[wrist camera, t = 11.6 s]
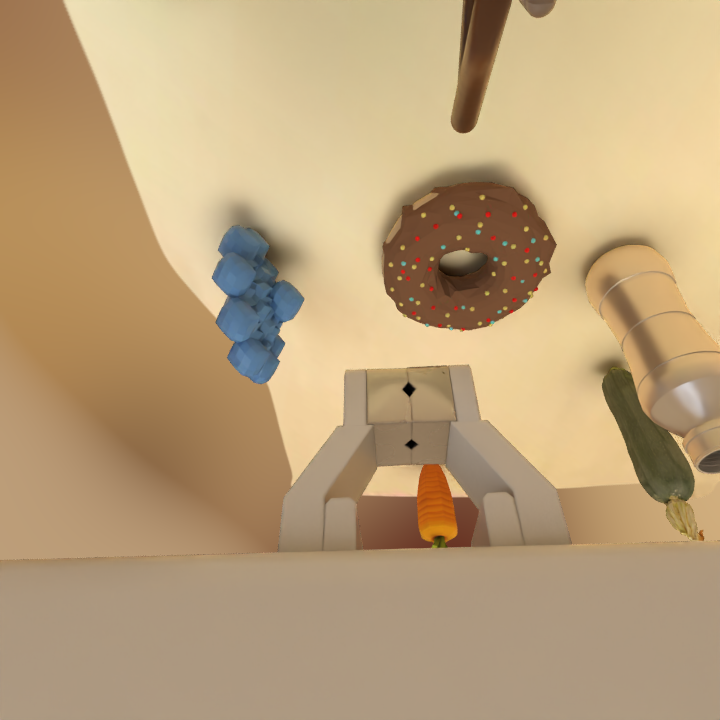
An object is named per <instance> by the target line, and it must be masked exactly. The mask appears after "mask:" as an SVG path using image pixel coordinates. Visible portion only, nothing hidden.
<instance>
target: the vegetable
mask: <svg viewBox="0 0 720 720" xmlns="http://www.w3.org/2000/svg"><path fill="white" fill-rule="evenodd" d="M602 389H603V393H604V396H605V399H606V402H607V404H608V406H609V408H610V410H611V412H612V414H613V415H614V417H615V419H616V421H617V424H618V426H619V428H620V431H621V433H622V435H623V438H624V440H625V443H626V446H627V450H628V453H629V455H630V458H631V460H632V463H633V466H634V469H635V472H636V475H637V477H638V479H639V482H640V483H641V485H642V486H643V488H644V489H645V490H646V491H647V493H648V494H649V495H650V496H651V497H652V498H654V499H655V500H656V501H658V502H661V503H664V504H666V506H667V509H666V516H667V519H668V520H669V522H670V523H671V525H672V526H673V527H674V528H675V529H676V530H678V531H680V533H681V534H682V535H685V536H687V537H688V538H689V539H690V540H691V541H704V536H703V533H702V532H703V530H701V531H700V532H699V533H698V532H697V524H696V522H695V518H694V512H693V509H692V508H691V506H690V505H689V504H688V503H686V502H685V501H687V500H688V499H689V498H690V497H691V496H692V494H693V491H694V483H695V480H694V476H693V473H692V470H691V467H690V465H689V463H688V461H687V459H686V458H685V456H684V454H683V453H682V451H681V449H680V448H679V446H678V444H677V443H676V441H675V440H674V438H673V437H672V436H671V434H670V433H669V432H668V431H667V430H666V429H664V428H662V427H661V426H659V425H657V424H656V423H654V422H653V421H652V420H651V419H650V418H649V417H648V416H647V415H646V414H645V413H644V411H643V409H642V407H641V404H640V402H639V399H638V395H637V391H636V388H635V384H634V380H633V377H632V374H631V373H630V372H628V371H626V370H625V369H624V368H618V367H612V368H611V369H610V371H609V373H608V374H607V375H606V376H605V377H604V379H603V383H602ZM698 534H699V535H700V536H699V535H698Z"/></svg>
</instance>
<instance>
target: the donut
mask: <svg viewBox="0 0 720 720" xmlns="http://www.w3.org/2000/svg"><path fill="white" fill-rule="evenodd" d="M556 245H557V244H556V243H555V241H554V239H553V237H552V235H551V233H550V231H549V229H548V227H547V226H546V224H545V222H544V221H543V220H542V219H541V218H540V217H539V216H538V214H537V211H536V209H535V206H534V205H533V204H532V203H531V202H530V200H529V199H528V198H526V197H524V196H522V195H520V194H518V193H517V192H516V191H515V189H514V188H512V187H507V186H503V185H499V184H495V183H491V182H469V183H461V184H455V185H452V186H448V187H435V188H434V189H433V190H432V191H431V193H430V194H428V195H426V196H424V197H422V198H421V199H419V200H417V201H416V202H415V203H413V204H412V205H408V206H403V209H402V215H400V217H399V219H398V220H397V222H396V223H395V225H394V226H393V228H392V230H391V231H390V233H389V235H388V238H387V239H386V240H385V242H384V243H383V254H382V274H383V277H384V284H385V289H386V293H387V295H389V296H390V297H391V298H392V299H393V300H394V302H395V303H396V307H397V309H398V310H399V311H400V312H401V313H402V314H403V316H404V317H408V318H410V319H413V320H415V321H417V322H420V323H422V324H425V326H426V327H428V326H434V327H438V328H449V329H450V330H453V329H460V331H464V330H472V329H477V328H482V327H487V326H492V324H494V322H496V321H498V320H499V319H503V318H504V317H505V316H507V315H509V314H510V313H513V312H514V311H516V310H518V309H519V308H521V307H522V306H523V305H524V304H525V303H526V302H527V301H528V300H529V298H532V297H533V292H534V291H537V290H538V288H537V286H538V284H539V283H540V281H541V280H542V278H544V277H545V276H547V275H548V274H550V273H551V271H550V266H549V262H550V260H551V257H552V255H553V252H554V250H555V248H556ZM457 250H465V251H468V252H470V253H483V254H485V255H487V256H488V259H487V262H486V263H485V264H484V265H483V266H482V267H481V268H480V269H479V270H478V271H476V272H474V273H471V274H468V275H465V276H462V277H459V276H447V275H445V274H444V273H442V272H440V271H439V270H438V267H439V263H440V259H441V258H442V257H443V255H444V254H447V253H450V252H453V251H457Z"/></svg>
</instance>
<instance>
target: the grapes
mask: <svg viewBox="0 0 720 720" xmlns="http://www.w3.org/2000/svg"><path fill="white" fill-rule="evenodd" d="M269 247H270V246H269V245H268V243H267V242H266V241H265V240H264V239H263V238H262V237H261V235H260V234H259V233H257V232H256V231H254V230H252V229H251V228H246V229H245V228H244V227H242V226H240V225H236V226H232V227H231V228H230V229H229V230H228V231H227V232H226V233H225V235H224V237H223V239H222V241H221V243H220V246H219V248H218V251H219V252H220V253H221V255H222V256H223V258H222V259H221V260H220V261H219V262H218V264H217V266H216V269H215V271H214V273H213V276H212V279H213V280H214V282H215V283H216V284H217V285H218V286H219V287H220V288H221V289H222V290H223V292H224V293H225V294H226V295H228V297H227V299H226V301H225V304H224V306H223V307H222V309H221V311H220V313H219V315H218V318H217V320H216V324H217V325H218V327H219V328H220V329H221V330H222V332H224V334H225V335H226V336H227V337H228V338H229V339H230V340H231V341H234V342H235V343H234V344H233V346H232V348H231V350H230V352H229V354H228V357H227V358H228V360H229V361H230V363H231V364H232V365H233V366H234V368H235V369H236V370H237V371H239V373H240V374H241V375H243V376H246V377H249V378H250V379H251V380H252V381H253V382H254V383H258V384H263V383H265V382H267V381H269V380H270V378H271V377H272V375H273V374H274V372H275V371H276V369H277V367H278V365H279V362H280V361H279V360H278V359H277V358H278V356H279V355H280V353H281V351H282V349H283V347H284V345H285V343H284V341H283V340H282V339H281V337H280V336H279V335H278V334H279V332H280V327H281V325H282V323H283V322H286V321H289V320H291V319H293V318H294V317H295V315H296V314H297V313H298V311H299V309H300V307H301V305H302V303H303V301H304V298H303V296H302V295H301V294H300V292H299V291H298V290H297V289H296V288H295V287H294V286H293V285H292V284H290V283H289V282H287V281H285V280H282V281H279V282H277V283H276V281H275V279H276V277H277V275H278V273H279V272H278V270H277V269H276V268H275V266H274V265H273V264H272V263H271V262H270V261H269V260H268V259H267V258H265V255H266V253H267V251H268V249H269Z"/></svg>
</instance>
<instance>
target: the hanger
mask: <svg viewBox="0 0 720 720" xmlns="http://www.w3.org/2000/svg"><path fill="white" fill-rule="evenodd" d="M519 1H520V3H521V4H522V5H523V6H524V8H525V9H526V10H527V11H528V13H529V14H530V15H531V16H533V17H536V18H541V17H544V16H546V15H548V14H549V13H550V12H551V11H552V10H553V8H554V6H555V4H556V0H519ZM511 2H512V0H463V11H462V26H461V41H460V56H459V71H458V85H457V90H456V95H455V100H454V105H453V110H452V115H451V124H452V127H453V128H454V130H455V131H457V132H459V133H468V132H470V131H471V130H472V129H473V128H474V127H475V126H476V124H477V121H478V117H479V114H480V110H481V107H482V103H483V100H484V96H485V93H486V89H487V86H488V82H489V79H490V75H491V72H492V68H493V65H494V61H495V58H496V55H497V51H498V48H499V44H500V41H501V37H502V34H503V30H504V27H505V23H506V20H507V16H508V13H509V9H510V6H511Z"/></svg>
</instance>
